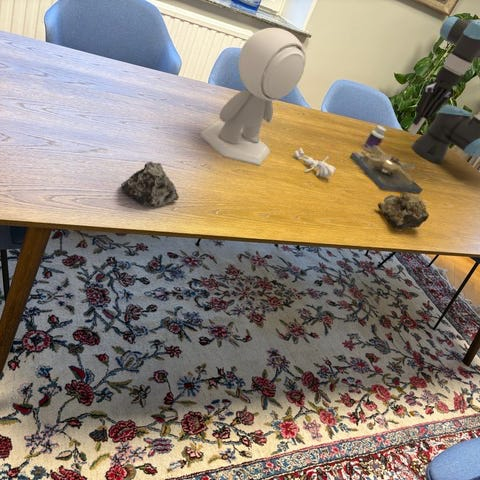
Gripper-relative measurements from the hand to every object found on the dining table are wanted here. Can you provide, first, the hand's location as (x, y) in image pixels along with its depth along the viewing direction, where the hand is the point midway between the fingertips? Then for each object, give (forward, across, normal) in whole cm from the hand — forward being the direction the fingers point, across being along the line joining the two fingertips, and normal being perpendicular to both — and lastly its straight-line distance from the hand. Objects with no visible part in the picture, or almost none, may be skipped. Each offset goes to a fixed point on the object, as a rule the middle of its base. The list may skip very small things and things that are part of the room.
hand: (411, 132), depth 163 cm
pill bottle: (+16, 0, -13) cm, 20 cm away
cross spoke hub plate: (+15, +7, +6) cm, 18 cm away
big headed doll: (+16, +67, -1) cm, 69 cm away
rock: (+17, +102, +28) cm, 107 cm away
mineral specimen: (+16, +25, +32) cm, 44 cm away
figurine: (+16, +42, +8) cm, 46 cm away
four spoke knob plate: (+13, +7, +6) cm, 16 cm away
